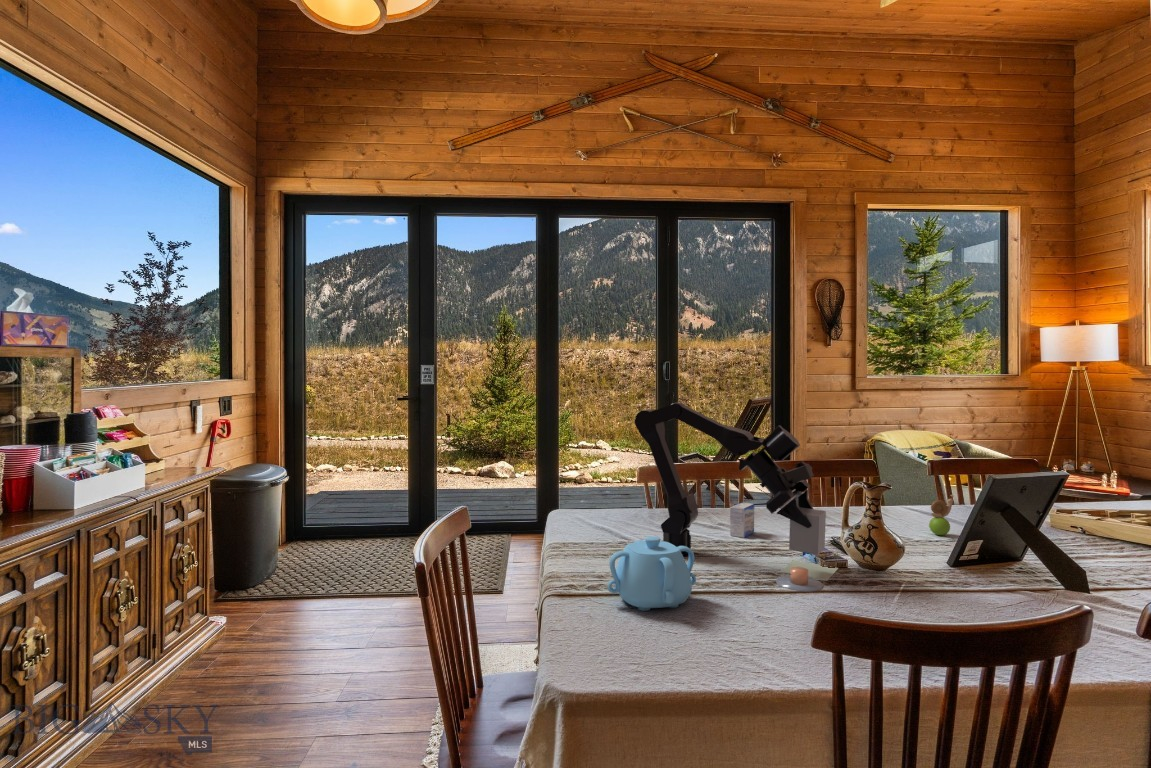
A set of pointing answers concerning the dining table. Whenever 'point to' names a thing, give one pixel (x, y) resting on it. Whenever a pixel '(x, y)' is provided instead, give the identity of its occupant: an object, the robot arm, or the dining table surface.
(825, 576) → the mat
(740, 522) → the medicine box
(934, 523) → the snail figurine
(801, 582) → the knob on round base
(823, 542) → the grey block
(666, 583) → the decorative pot
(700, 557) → the dining table surface
